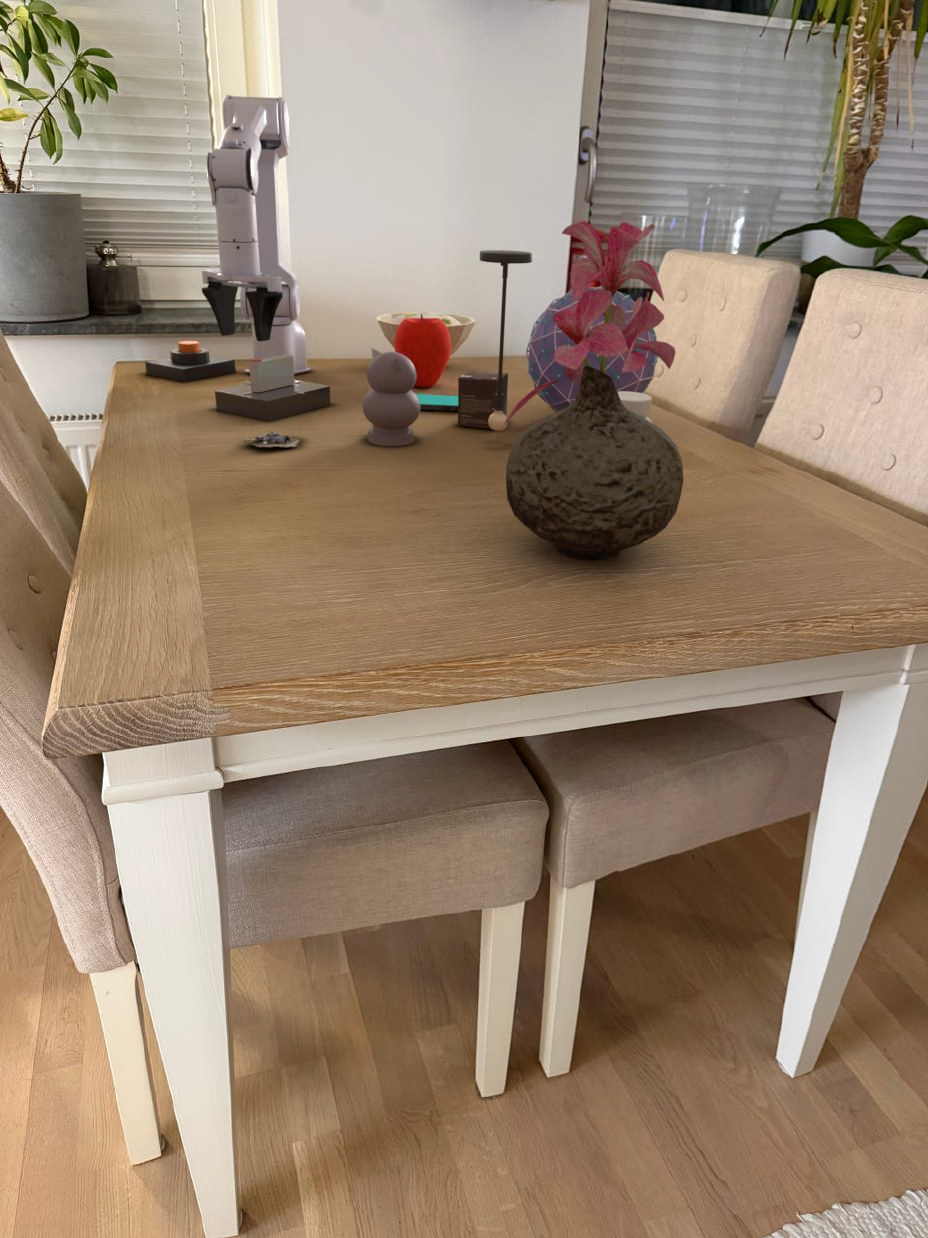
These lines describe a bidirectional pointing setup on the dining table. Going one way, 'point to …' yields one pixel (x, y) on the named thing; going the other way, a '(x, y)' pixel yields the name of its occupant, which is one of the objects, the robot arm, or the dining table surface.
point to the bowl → (454, 323)
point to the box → (479, 397)
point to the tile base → (272, 400)
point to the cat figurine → (391, 399)
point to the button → (188, 346)
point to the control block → (190, 366)
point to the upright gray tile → (271, 373)
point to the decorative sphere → (552, 337)
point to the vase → (598, 421)
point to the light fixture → (502, 324)
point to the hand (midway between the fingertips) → (245, 337)
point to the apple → (424, 347)
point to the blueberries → (272, 441)
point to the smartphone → (438, 402)
